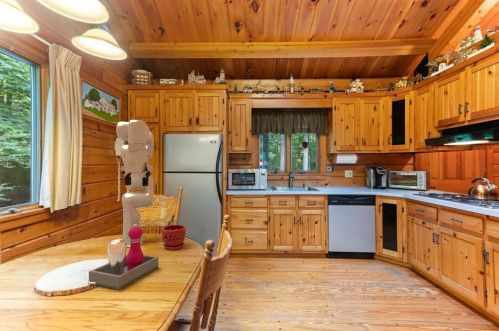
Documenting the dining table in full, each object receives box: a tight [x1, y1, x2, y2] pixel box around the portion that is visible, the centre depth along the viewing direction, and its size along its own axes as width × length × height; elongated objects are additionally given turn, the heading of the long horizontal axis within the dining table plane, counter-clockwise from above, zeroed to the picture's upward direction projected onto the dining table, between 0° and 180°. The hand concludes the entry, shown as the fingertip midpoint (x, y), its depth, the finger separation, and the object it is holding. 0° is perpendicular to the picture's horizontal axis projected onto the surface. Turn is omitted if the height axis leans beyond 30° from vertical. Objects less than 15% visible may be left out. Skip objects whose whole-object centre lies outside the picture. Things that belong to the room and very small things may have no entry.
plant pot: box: [161, 224, 187, 251], centre depth 142 cm, size 13×13×12 cm
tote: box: [88, 254, 160, 291], centre depth 105 cm, size 22×15×5 cm
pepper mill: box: [126, 224, 145, 271], centre depth 110 cm, size 7×7×20 cm
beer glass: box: [106, 238, 127, 275], centre depth 101 cm, size 7×7×15 cm
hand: (136, 185), depth 110 cm, fingers open, 9 cm apart
